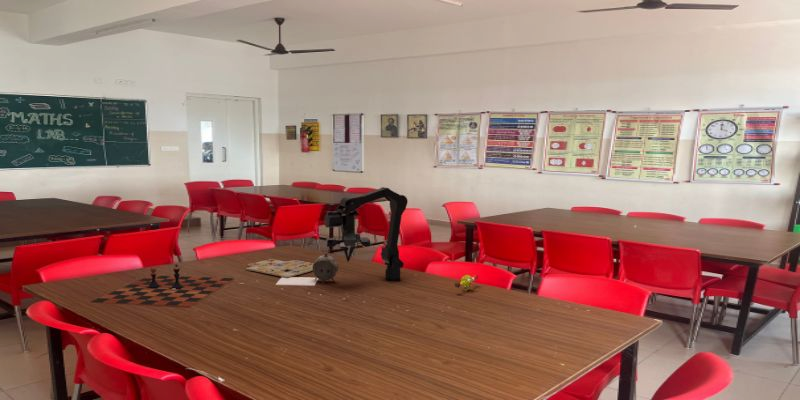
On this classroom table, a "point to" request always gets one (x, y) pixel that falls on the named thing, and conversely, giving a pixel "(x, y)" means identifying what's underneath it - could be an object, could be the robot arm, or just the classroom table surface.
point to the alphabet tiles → (281, 267)
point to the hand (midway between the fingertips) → (348, 261)
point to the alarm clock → (325, 267)
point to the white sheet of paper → (297, 281)
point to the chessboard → (165, 290)
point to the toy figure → (466, 281)
